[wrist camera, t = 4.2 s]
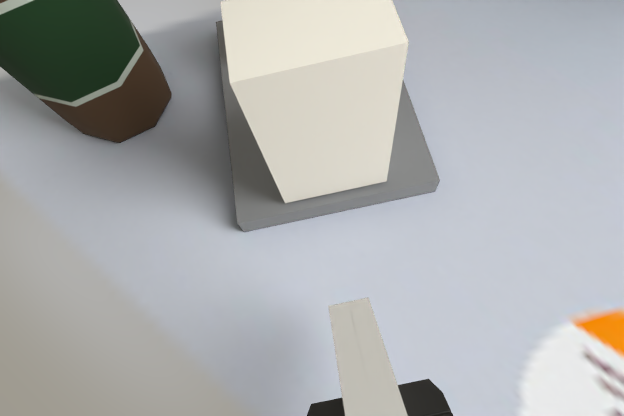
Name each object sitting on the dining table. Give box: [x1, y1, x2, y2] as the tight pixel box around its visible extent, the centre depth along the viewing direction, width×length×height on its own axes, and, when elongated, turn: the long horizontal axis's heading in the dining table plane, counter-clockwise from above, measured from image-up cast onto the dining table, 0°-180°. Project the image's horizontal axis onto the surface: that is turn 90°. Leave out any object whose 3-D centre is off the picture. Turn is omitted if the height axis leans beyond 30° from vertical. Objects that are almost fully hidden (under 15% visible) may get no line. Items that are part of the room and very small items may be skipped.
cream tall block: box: [220, 0, 409, 203], centre depth 17 cm, size 6×4×10 cm, turn 101°
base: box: [216, 21, 440, 232], centre depth 25 cm, size 12×17×2 cm
